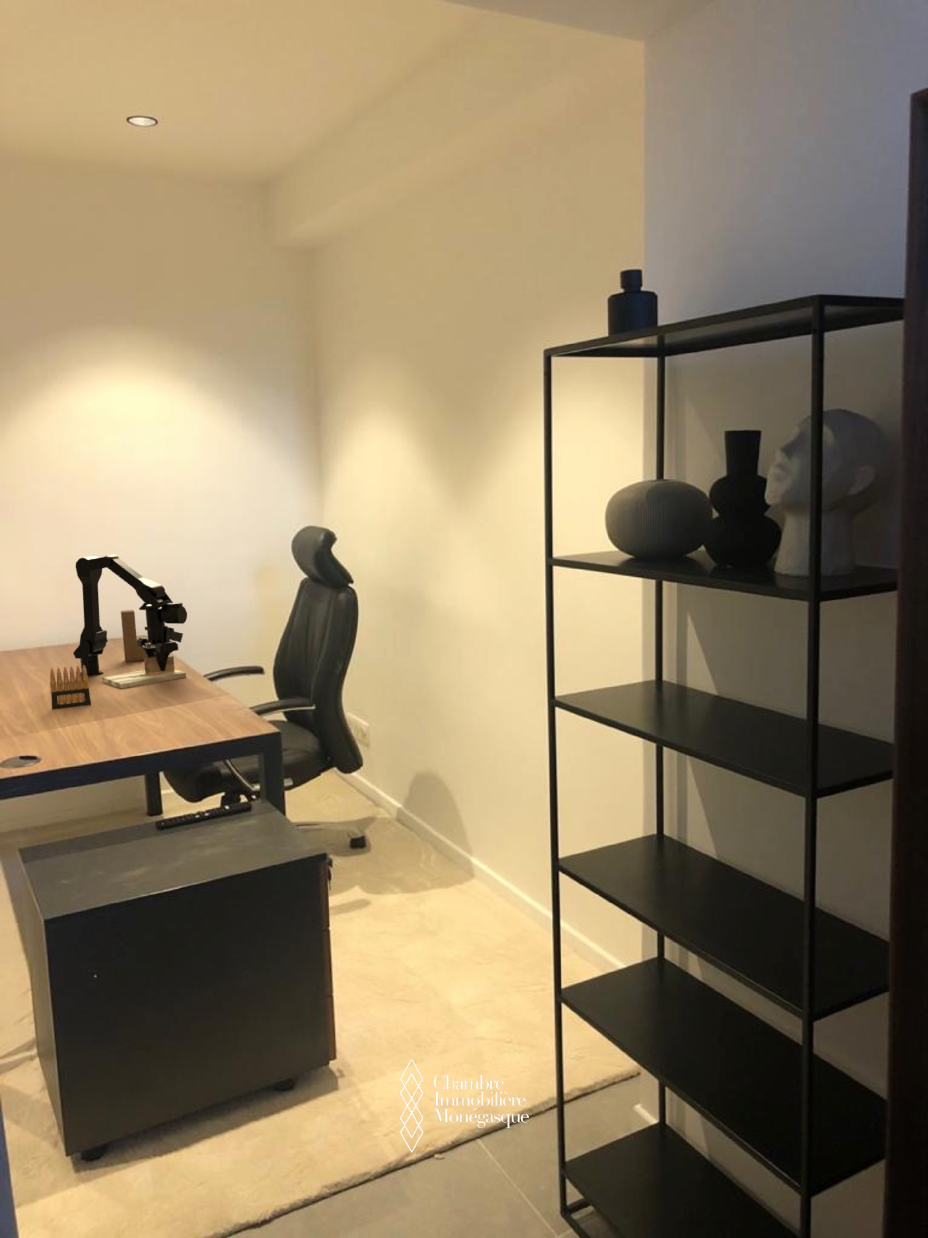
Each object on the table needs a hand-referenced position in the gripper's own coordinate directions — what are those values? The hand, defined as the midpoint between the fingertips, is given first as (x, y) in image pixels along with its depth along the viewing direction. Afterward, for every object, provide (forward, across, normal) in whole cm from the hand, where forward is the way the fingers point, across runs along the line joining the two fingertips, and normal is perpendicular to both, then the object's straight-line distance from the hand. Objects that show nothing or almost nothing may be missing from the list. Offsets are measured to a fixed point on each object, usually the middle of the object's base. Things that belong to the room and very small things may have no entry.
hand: (159, 669), depth 335 cm
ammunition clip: (+2, -20, +36) cm, 41 cm away
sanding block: (+1, 0, 0) cm, 1 cm away
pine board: (+2, 0, +5) cm, 6 cm away
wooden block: (+3, +34, -8) cm, 35 cm away
